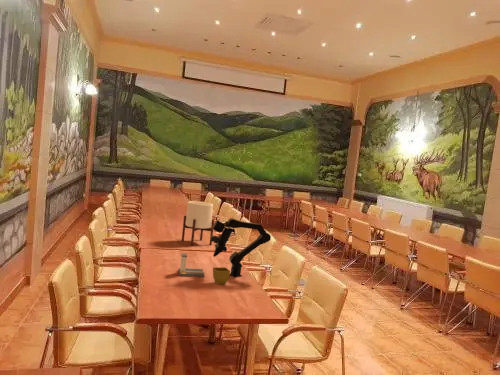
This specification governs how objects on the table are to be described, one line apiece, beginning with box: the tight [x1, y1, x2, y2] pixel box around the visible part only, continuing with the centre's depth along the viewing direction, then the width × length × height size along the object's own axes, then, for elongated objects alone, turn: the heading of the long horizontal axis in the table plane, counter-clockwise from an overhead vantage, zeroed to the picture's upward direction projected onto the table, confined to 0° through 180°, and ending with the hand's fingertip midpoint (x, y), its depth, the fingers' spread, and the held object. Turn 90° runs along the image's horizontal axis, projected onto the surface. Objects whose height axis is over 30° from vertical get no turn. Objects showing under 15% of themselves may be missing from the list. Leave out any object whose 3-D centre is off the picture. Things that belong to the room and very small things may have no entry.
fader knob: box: [179, 252, 188, 271], centre depth 277 cm, size 3×6×11 cm, turn 14°
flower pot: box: [212, 266, 231, 285], centre depth 264 cm, size 9×9×9 cm
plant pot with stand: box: [181, 200, 215, 247], centre depth 375 cm, size 22×22×36 cm
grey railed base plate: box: [177, 267, 205, 278], centre depth 278 cm, size 16×12×2 cm
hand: (214, 256), depth 281 cm, fingers closed
